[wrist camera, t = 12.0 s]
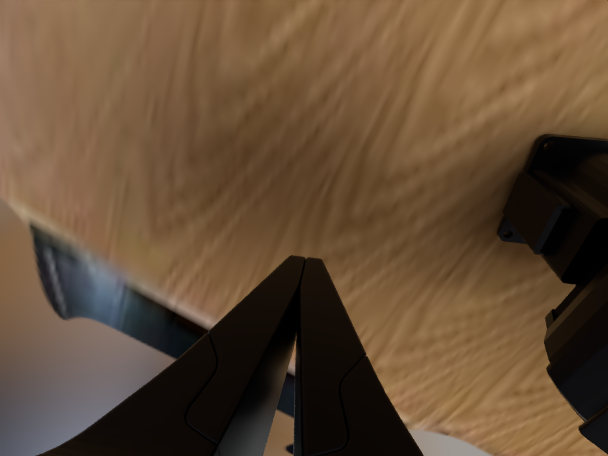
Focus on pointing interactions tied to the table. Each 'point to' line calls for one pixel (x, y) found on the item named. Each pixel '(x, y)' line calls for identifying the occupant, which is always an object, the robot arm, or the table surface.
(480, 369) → the table surface
